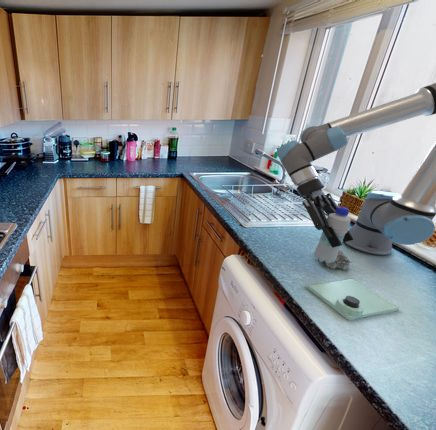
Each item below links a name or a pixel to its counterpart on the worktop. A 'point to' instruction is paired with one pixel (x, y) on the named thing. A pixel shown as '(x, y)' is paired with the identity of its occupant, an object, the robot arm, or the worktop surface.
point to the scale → (340, 289)
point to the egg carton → (339, 262)
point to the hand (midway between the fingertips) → (343, 243)
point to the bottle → (340, 227)
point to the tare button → (351, 301)
